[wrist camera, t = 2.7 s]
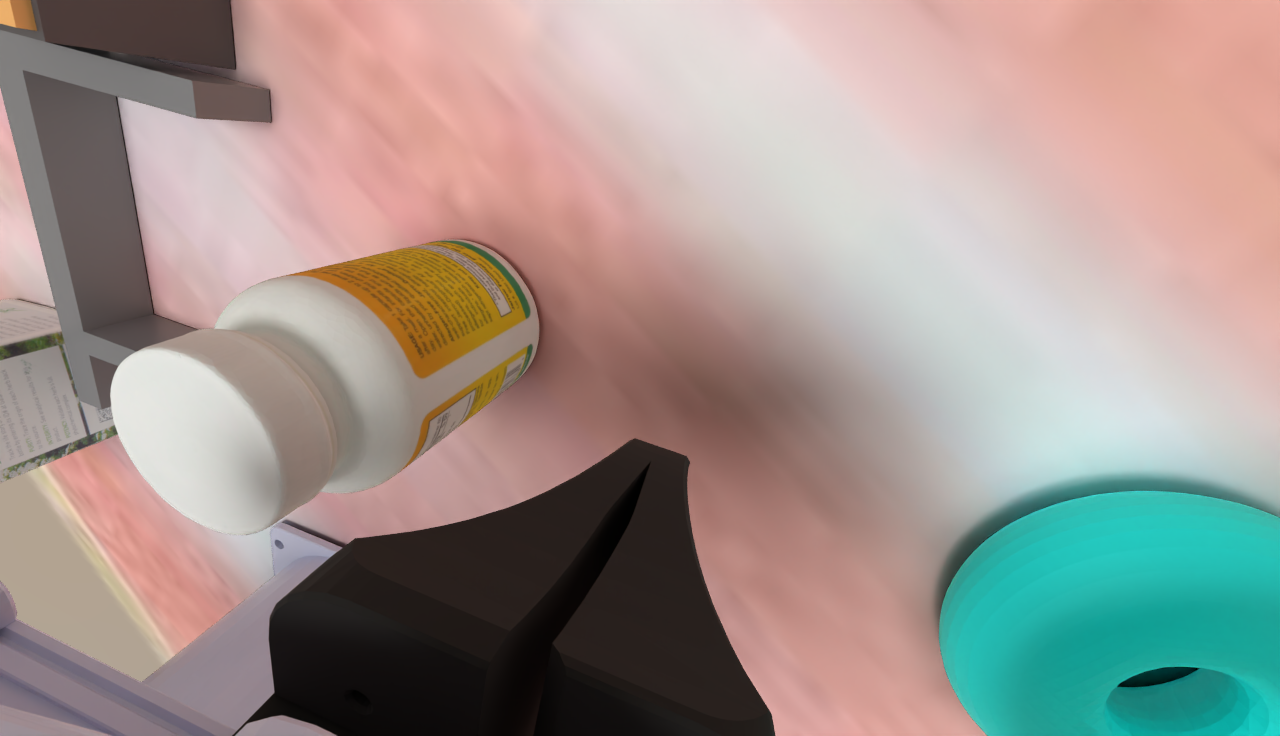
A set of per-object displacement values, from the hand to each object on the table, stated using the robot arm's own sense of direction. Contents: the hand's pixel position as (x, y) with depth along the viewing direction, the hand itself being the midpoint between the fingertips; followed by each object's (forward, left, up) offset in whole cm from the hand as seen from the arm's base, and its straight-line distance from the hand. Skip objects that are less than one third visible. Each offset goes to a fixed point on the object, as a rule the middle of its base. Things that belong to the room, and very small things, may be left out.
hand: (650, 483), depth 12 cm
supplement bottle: (0, +8, -6) cm, 10 cm away
